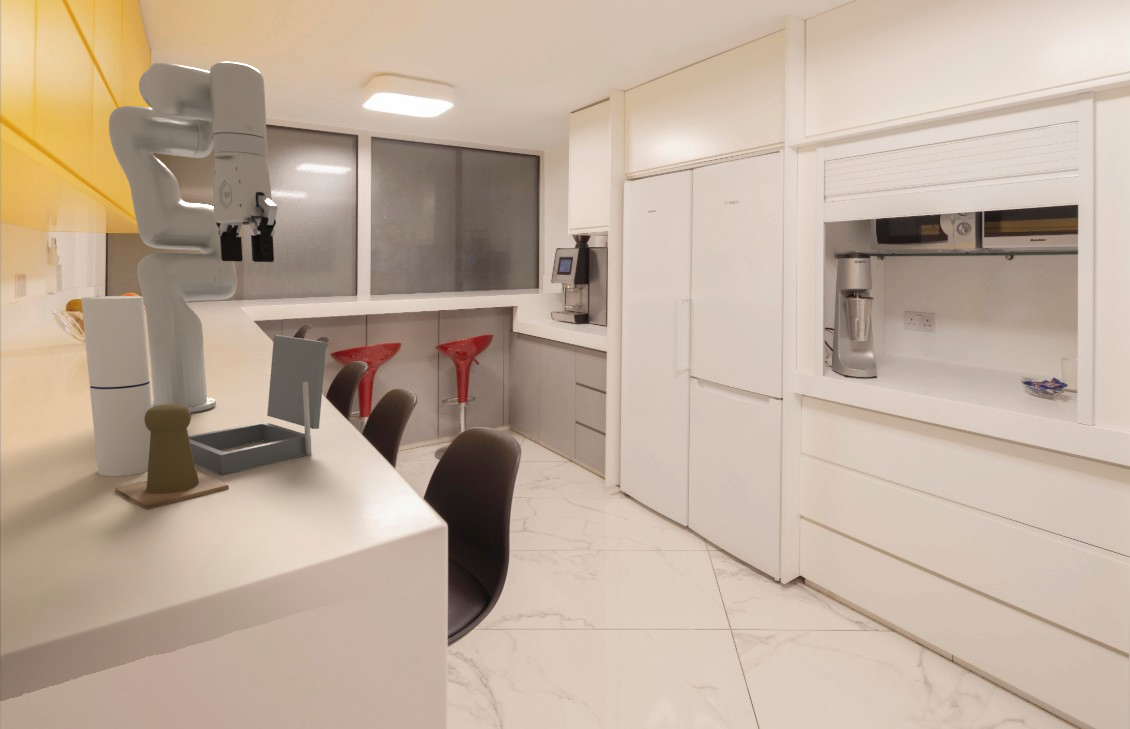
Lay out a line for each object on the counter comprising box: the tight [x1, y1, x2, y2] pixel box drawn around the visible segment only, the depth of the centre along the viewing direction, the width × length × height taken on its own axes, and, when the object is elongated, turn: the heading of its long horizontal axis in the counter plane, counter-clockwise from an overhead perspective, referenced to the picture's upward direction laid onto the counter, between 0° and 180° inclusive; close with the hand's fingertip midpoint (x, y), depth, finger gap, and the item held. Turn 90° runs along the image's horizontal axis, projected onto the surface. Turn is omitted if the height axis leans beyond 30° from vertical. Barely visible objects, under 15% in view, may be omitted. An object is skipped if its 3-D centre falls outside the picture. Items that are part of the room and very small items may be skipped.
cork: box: [144, 404, 199, 494], centre depth 85 cm, size 6×6×11 cm
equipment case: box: [188, 382, 312, 476], centre depth 101 cm, size 15×14×12 cm
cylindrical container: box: [81, 295, 153, 477], centre depth 93 cm, size 7×7×25 cm
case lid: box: [266, 334, 327, 430], centre depth 107 cm, size 14×14×1 cm
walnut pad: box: [114, 470, 230, 510], centre depth 86 cm, size 10×10×1 cm
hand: (247, 261), depth 103 cm, fingers open, 9 cm apart
